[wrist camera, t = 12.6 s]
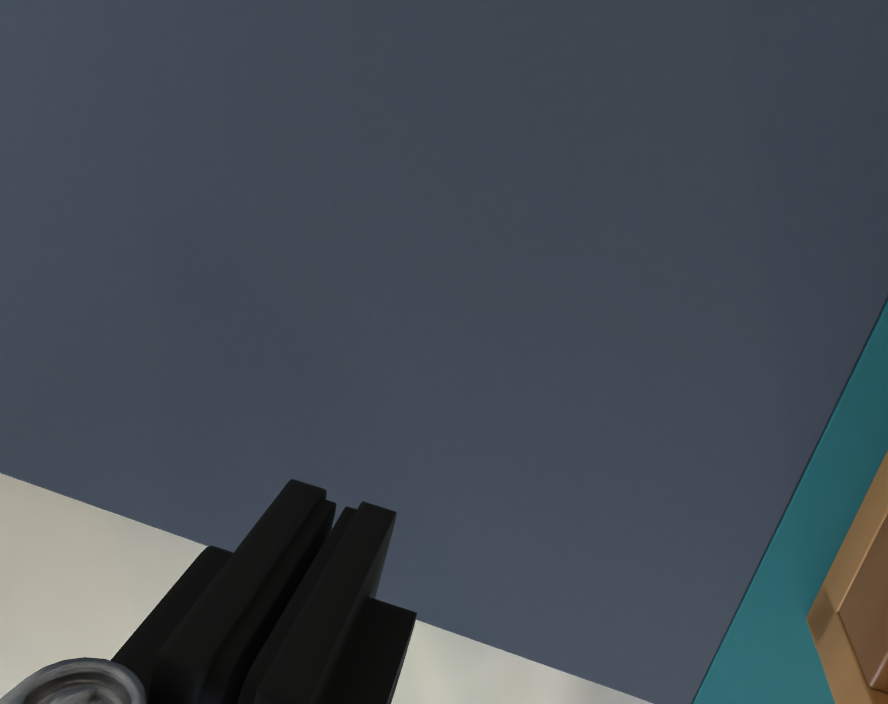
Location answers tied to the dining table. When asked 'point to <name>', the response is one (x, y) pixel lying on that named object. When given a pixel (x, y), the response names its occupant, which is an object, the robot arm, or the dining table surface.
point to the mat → (469, 301)
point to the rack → (857, 605)
